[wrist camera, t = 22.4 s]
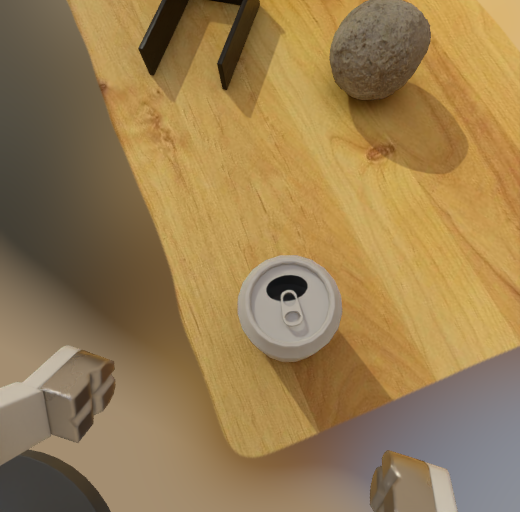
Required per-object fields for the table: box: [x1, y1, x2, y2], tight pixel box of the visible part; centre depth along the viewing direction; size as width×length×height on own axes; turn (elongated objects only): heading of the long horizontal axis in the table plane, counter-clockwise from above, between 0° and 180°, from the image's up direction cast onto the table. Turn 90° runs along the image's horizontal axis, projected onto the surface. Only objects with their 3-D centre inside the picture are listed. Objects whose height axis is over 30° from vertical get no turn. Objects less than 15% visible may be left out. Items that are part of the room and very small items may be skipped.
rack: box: [138, 0, 260, 90], centre depth 46 cm, size 15×11×4 cm
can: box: [238, 255, 342, 362], centre depth 30 cm, size 8×8×12 cm
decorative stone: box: [330, 0, 431, 100], centre depth 40 cm, size 10×8×10 cm
